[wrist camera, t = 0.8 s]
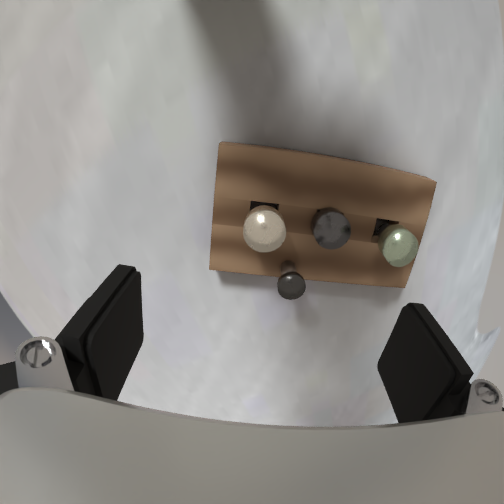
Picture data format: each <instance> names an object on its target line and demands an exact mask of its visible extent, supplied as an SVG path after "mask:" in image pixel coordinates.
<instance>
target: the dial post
mask: <svg viewBox="0 0 504 504" xmlns="http://www.w3.org/2000/svg"><path fill="white" fill-rule="evenodd" d="M280 271H281V276H280V278H279V279H278V282H277V286H278V292H279V294H280V295H281V296H282V297H283V298H285V299H289V300H292V299H297V298H299V297H300V296H302V295H303V293H304V292H305V288H306V286H305V281H304V278H303V277H302V275H300V274H299V273H297V270H296V266H295V264H294V263H293V262H292V261H284V262H283V263H282V264H281V265H280Z"/></svg>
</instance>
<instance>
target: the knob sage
mask: <svg viewBox="0 0 504 504" xmlns="http://www.w3.org/2000/svg"><path fill="white" fill-rule="evenodd" d="M378 238H379V240H378V248H379V251H380V252H381V254H382V255H383V256H384V257H385V259H386V260H387V261H388V262H389V263H390V264H391V265H392V266H395V267H402V266H405V265H407V264H409V263H410V262H411V261H412V260H413V259H414V258H415V256H416V254H417V252H418V241H417V238H416V237H415V236H414V235H413V234H412V233H411V232H410V231H409V230H407V229H406V228H405V227H404V226H402V225H399V224H394V225H390V224H384V225H382V226H381V227H380V228H379V230H378Z"/></svg>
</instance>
